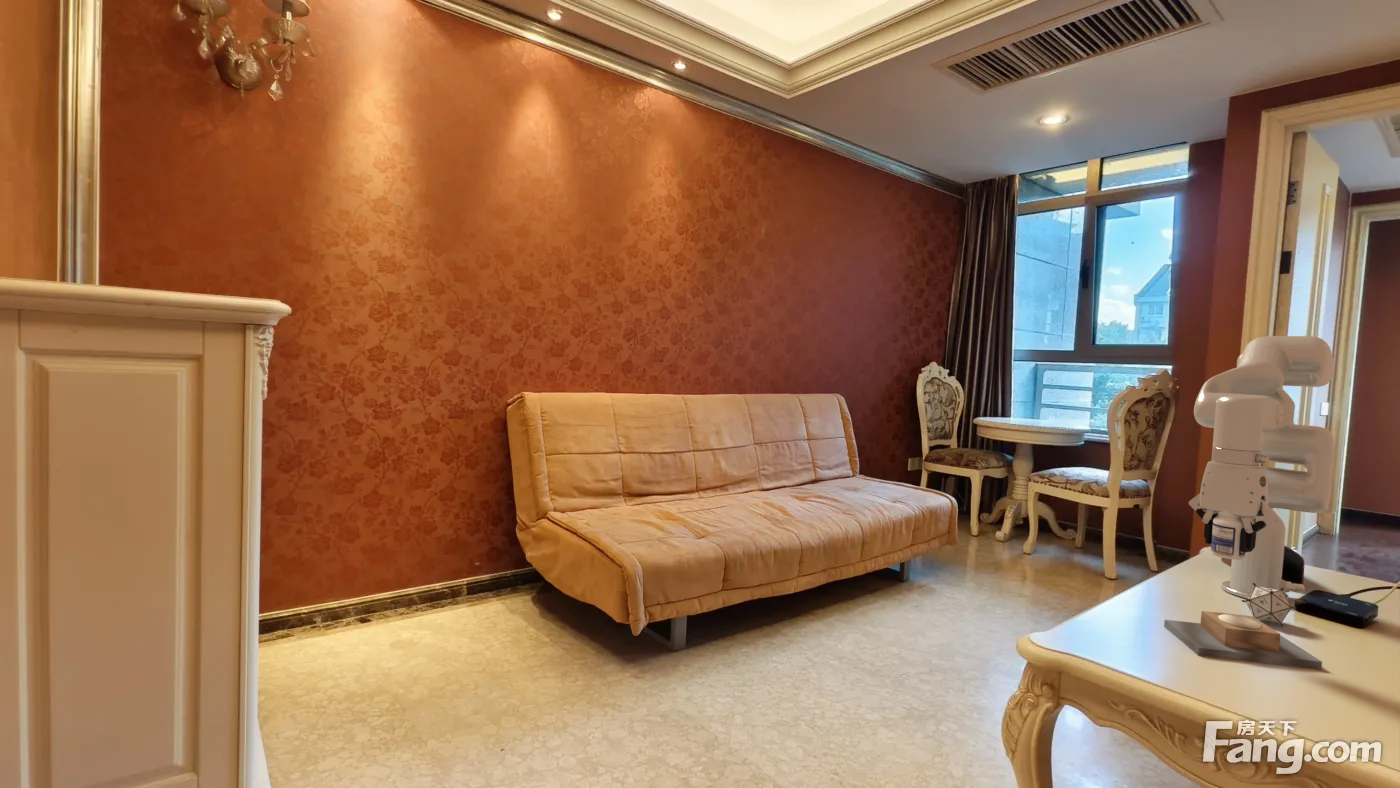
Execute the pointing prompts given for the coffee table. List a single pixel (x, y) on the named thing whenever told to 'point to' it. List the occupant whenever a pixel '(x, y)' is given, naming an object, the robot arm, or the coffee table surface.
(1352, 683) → the coffee table surface
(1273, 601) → the game die
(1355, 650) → the coffee table surface
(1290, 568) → the letter holder
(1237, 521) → the pill bottle
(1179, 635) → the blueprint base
